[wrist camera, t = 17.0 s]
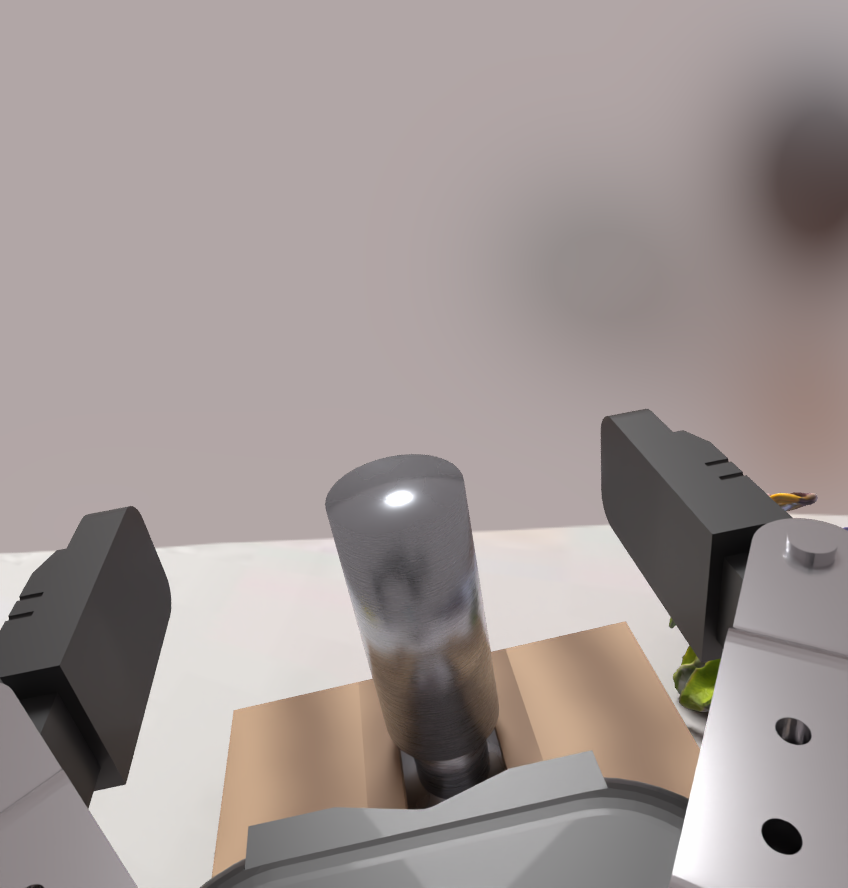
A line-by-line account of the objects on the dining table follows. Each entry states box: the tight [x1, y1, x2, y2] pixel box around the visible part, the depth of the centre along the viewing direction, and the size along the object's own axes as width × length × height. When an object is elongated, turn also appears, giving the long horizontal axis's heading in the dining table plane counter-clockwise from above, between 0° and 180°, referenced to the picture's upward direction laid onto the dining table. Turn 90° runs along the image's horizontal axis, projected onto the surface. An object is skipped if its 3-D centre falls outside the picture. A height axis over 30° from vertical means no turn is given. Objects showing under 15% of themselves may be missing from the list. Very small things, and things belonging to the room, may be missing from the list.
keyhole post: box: [325, 454, 506, 810], centre depth 29 cm, size 6×6×17 cm
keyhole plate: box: [212, 621, 700, 878], centre depth 28 cm, size 20×16×4 cm
